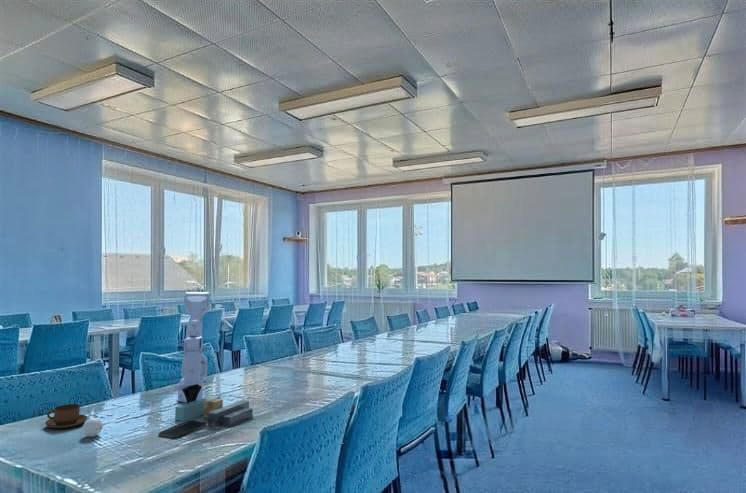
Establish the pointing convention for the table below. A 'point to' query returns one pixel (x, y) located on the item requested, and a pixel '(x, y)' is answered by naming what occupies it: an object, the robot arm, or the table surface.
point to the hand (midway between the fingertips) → (191, 406)
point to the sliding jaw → (191, 409)
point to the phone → (182, 429)
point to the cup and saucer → (65, 416)
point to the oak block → (212, 405)
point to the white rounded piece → (92, 427)
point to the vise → (230, 414)
